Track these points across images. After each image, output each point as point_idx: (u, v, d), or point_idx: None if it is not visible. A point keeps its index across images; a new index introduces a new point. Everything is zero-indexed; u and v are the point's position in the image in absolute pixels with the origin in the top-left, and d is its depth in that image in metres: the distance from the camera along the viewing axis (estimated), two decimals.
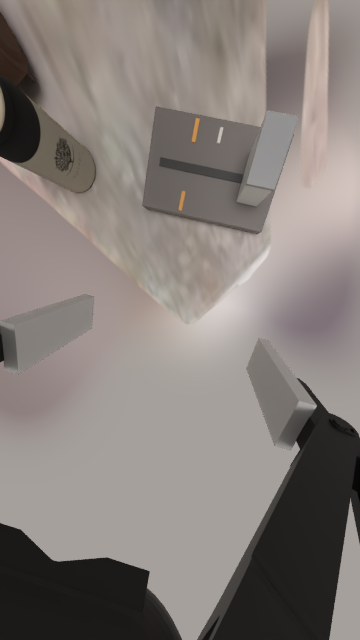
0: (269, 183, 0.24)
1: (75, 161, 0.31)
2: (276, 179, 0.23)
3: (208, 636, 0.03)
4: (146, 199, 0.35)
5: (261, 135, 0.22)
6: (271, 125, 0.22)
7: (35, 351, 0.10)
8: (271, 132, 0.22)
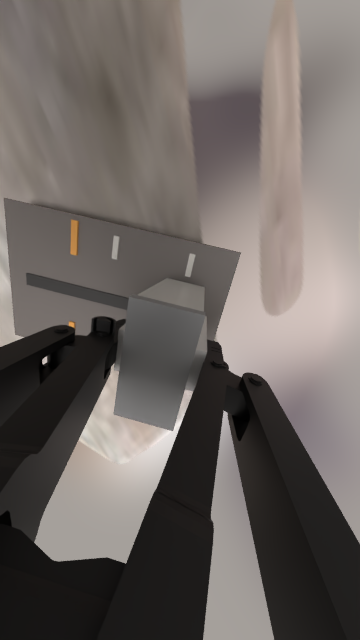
0: (160, 420, 0.11)
1: None
2: (173, 416, 0.11)
3: None
4: (19, 327, 0.22)
5: (126, 341, 0.10)
6: (144, 326, 0.09)
7: None
8: (147, 337, 0.09)
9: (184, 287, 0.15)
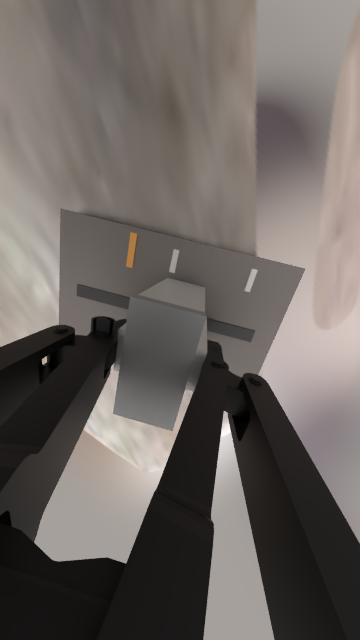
0: (160, 420, 0.11)
1: None
2: (172, 416, 0.11)
3: None
4: None
5: (127, 340, 0.10)
6: (145, 326, 0.09)
7: None
8: (148, 336, 0.09)
9: (185, 287, 0.15)
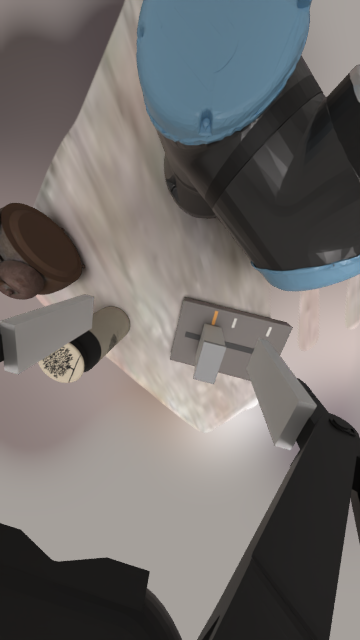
0: (209, 380, 0.32)
1: (118, 338, 0.39)
2: (214, 379, 0.32)
3: (208, 636, 0.03)
4: (173, 356, 0.43)
5: (201, 354, 0.31)
6: (207, 350, 0.31)
7: (35, 351, 0.10)
8: (208, 353, 0.31)
9: (214, 330, 0.36)
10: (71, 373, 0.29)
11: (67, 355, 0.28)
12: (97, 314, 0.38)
